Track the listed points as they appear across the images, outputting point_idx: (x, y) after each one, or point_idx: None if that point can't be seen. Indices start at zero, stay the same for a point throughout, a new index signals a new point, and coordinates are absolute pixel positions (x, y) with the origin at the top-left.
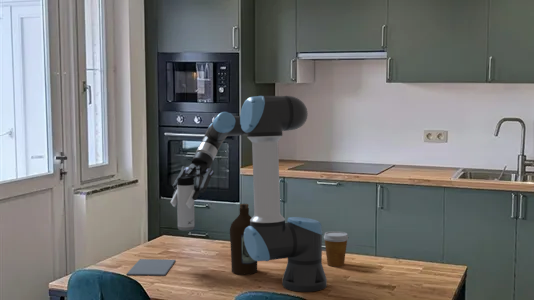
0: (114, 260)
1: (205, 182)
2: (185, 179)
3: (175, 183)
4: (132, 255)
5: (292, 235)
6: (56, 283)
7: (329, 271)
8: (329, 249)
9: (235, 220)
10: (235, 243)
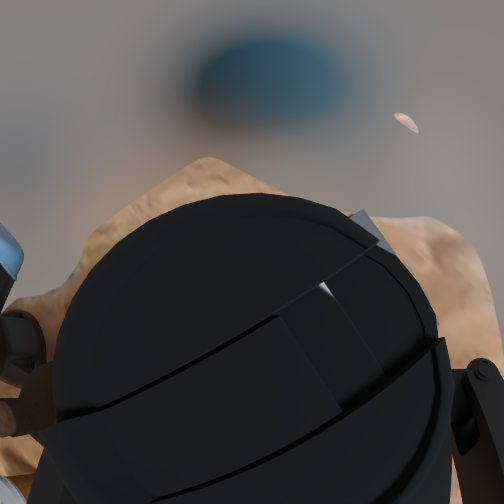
0: (477, 285)
1: (44, 474)
2: (139, 243)
3: (487, 397)
4: (480, 346)
5: None
6: (406, 117)
7: (32, 444)
8: (23, 479)
9: (51, 391)
10: None
